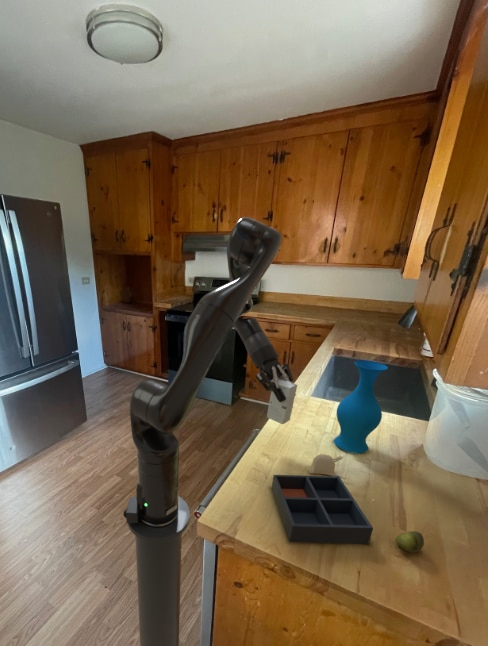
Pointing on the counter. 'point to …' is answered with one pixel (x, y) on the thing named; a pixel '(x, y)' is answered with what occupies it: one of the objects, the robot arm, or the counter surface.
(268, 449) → the counter surface
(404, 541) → the lime
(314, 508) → the grid
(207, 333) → the robot arm
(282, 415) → the cosmetic box
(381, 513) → the counter surface
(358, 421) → the vase
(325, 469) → the decorative ornament
